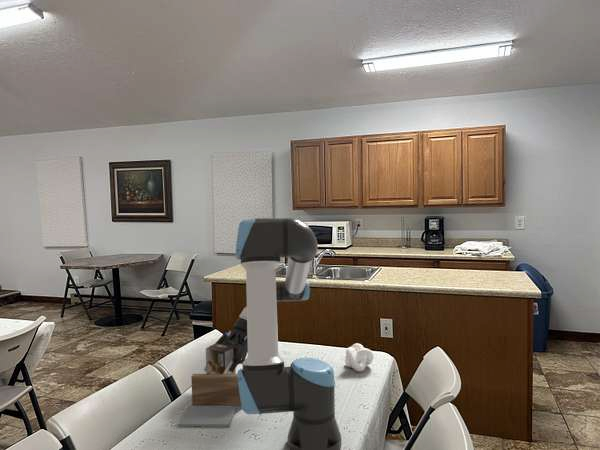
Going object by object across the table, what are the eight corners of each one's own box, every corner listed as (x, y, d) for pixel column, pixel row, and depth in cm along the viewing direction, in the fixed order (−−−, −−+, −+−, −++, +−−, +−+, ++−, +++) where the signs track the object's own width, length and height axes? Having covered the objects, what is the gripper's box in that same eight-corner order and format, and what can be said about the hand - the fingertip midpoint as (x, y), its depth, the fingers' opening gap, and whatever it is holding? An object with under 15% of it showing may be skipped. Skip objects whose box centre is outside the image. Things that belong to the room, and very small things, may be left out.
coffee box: (237, 389, 152) (236, 346, 151) (226, 396, 146) (225, 352, 145) (217, 384, 156) (216, 342, 155) (206, 391, 151) (204, 348, 150)
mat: (229, 426, 127) (229, 424, 126) (177, 426, 127) (177, 424, 127) (236, 409, 138) (236, 406, 137) (188, 408, 138) (188, 406, 138)
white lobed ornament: (365, 376, 161) (365, 354, 161) (337, 370, 167) (337, 348, 167) (376, 366, 171) (375, 345, 170) (349, 361, 177) (349, 340, 177)
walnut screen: (248, 405, 140) (247, 376, 139) (192, 405, 141) (191, 376, 140) (249, 402, 142) (248, 373, 141) (194, 402, 143) (193, 373, 142)
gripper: (272, 333, 154) (240, 389, 143) (234, 322, 169) (202, 371, 159) (261, 322, 150) (227, 379, 139) (223, 311, 165) (189, 362, 154)
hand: (214, 375), depth 149 cm, fingers closed on coffee box, 10 cm apart
